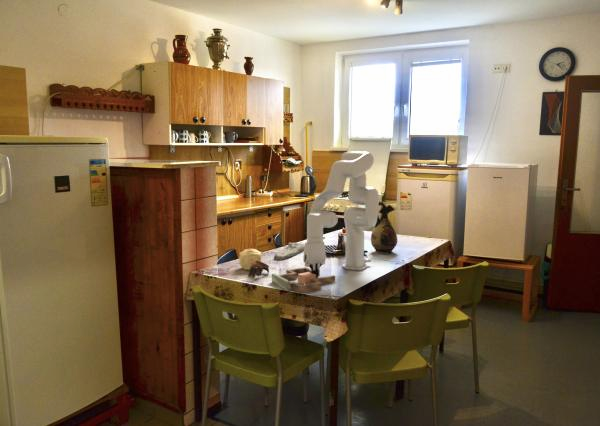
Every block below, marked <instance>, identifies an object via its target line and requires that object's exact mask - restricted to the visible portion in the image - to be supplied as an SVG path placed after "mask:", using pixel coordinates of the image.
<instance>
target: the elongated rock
mask: <svg viewBox="0 0 600 426" xmlns="http://www.w3.org/2000/svg"><path fill="white" fill-rule="evenodd" d="M304 247H305V243H297V242H295V241H294V242H288V243H287V246H286V247H285V249H282V250H280V251H278V252H276V253H274V255H273V256H274V257H273V258H274V260H276V261H284V260H287V259H289V258H293V257H294V256H296V255H298V254H300V253H301V252H304Z"/></svg>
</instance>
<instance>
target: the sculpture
mask: <svg viewBox="0 0 600 426" xmlns="http://www.w3.org/2000/svg"><path fill="white" fill-rule="evenodd" d="M256 261H260V262H263V260H262V252H261V251H259V250H257V249H256V248H247V249H246V248H244V250H242V251H240V252H239V258H238V264H239V266H240V268H242V270H245V271H250V268H251V265H252V264H253V263H255V262H256ZM256 268H257V267H256Z"/></svg>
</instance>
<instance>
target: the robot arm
mask: <svg viewBox="0 0 600 426" xmlns="http://www.w3.org/2000/svg"><path fill="white" fill-rule="evenodd" d="M340 159H341V160H337V161H334V162H333V164H332V166H331V168H330V173H329V175H328V179H327V182H326V185H325V188H324V189H323V190H322V191H321V192H320V193H319V194H318V195H317V196H316V198H315V199H314V200H313V202H312V204H311V207H310V211H309V213H308V214H307V215H306V216H307V217H306V242H305V243H304V244H305V247H304V250H303V263H304V267H307V268H309V269H311V273H312V274H315V275H316V278H319V276H318V274H319V269H321V267H322V266H323V265H326V258H327V257H326V256H327V253H326V244H325V241H324V240H325V239H326V236H325V235H324V228H328V229H329V228H333V227H335V226H336V225H337V224H338V221H339V217H338V215H337V214H336V213H335V212H333V211H326V210H322V209H324V208H323V207H324V206H325V205H326V204H327V203H328V202H330V201H331V200H334V199H336V198H338V197H340V196H342V195H343V193H344V188H345V185H346V182H347V179H349V183H348V184H349V185H348V202H349V203H350V204H351V205H359V207H358V206H350V207H348V208H346V209H345V210H344V213H343V220H344V226H345V261H344V262H345V263H343V264H342V268H343V269H345V270H350V271H363V270H366V268H368V267H367V266H368V265H367V263H371V262H372V259H371V258H365V232H364V230H363V228H373V227H375V224H376V222H377V217H378V216H379V214H378V213H379V206H380V205H379V202H380V195H379V194H380V193H379V191H378V190H377V189H376V188H375V187H373V186H367V174H366V172H367V171H368V170H370V169H371V167H372V166H373V164H374V161H375V160H374V155H373V154H372V153H371V152H368V151H353V150H352V151H345V152H343V153H342V154H341V158H340ZM378 205H379V206H378ZM360 206H365V207H360ZM362 227H363V228H362Z"/></svg>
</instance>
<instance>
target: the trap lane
mask: <svg viewBox="0 0 600 426" xmlns="http://www.w3.org/2000/svg"><path fill="white" fill-rule="evenodd" d="M320 269H321V268H320ZM320 269H319V274H318V278H314V279H310V284H305V285H304V284H301V283H299V282H295V281H296V280H298V274H300V273H306V272H310V273H311V269H310V267H306V266H304V267H297V268H291V269H286V272H285V273H284V274H282V273H281V274H276V273H271V283H272V284H274V285H276V286H278V287H280V288H281V287H282V289H283V288H284V289H283V290H285V289H286V290H285V291H287V290H288V291H295V292H297V293H299V294H303V293H302V292H304V293H307V292H314V291H313V290H315V291H320V290H322V285H327V283H328V284H332V283H333V282H334V283H336V275H327V276H322V277H321V275H320V274H321V270H320ZM319 276H320V277H319ZM288 280H289V281H288ZM294 280H295V281H294ZM334 283H333V284H334ZM292 289H293V290H292Z"/></svg>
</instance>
